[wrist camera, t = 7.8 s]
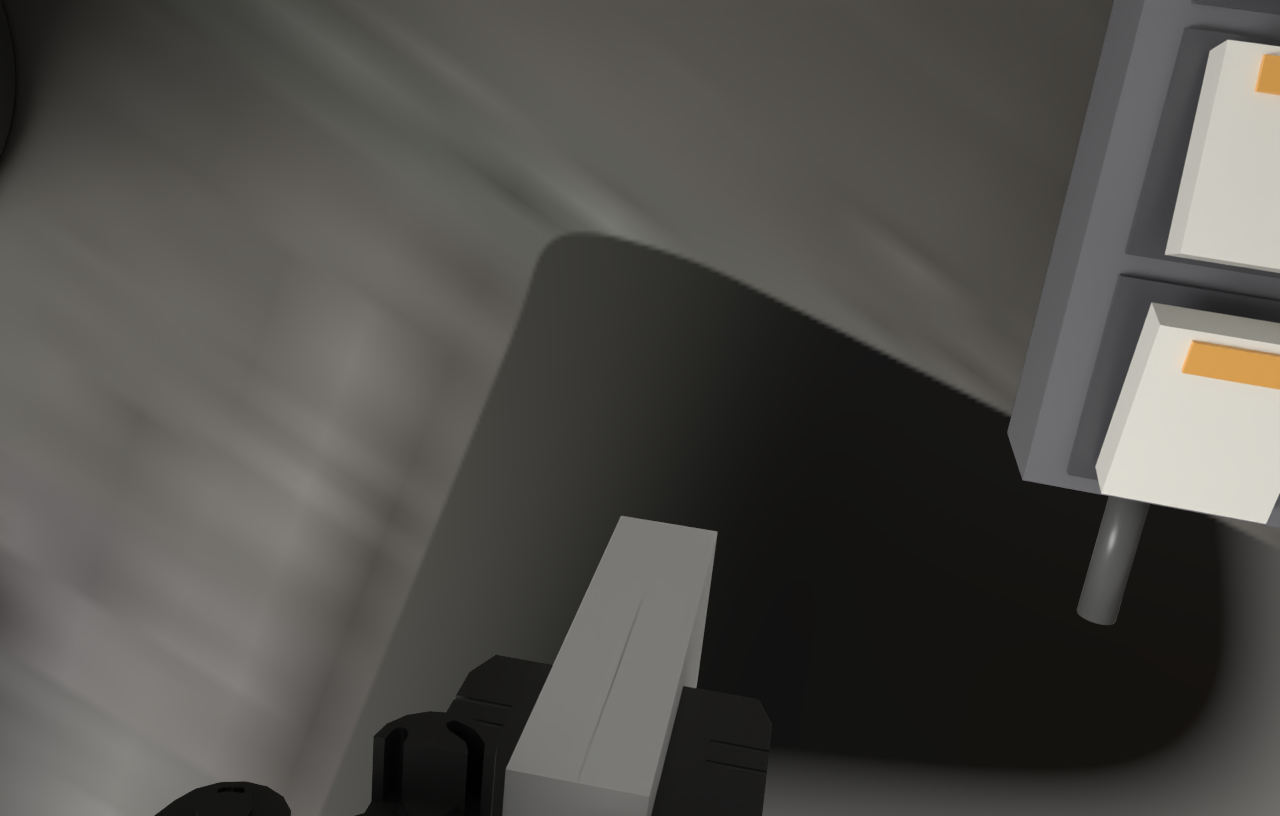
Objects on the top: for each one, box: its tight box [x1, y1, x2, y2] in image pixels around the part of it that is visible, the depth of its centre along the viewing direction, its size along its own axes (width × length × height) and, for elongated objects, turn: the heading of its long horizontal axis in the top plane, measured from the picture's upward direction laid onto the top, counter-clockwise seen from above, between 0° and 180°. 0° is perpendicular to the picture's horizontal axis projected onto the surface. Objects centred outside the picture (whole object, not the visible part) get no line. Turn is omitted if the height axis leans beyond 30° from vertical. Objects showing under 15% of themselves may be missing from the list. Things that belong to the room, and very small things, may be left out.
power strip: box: [1008, 0, 1280, 625], centre depth 39 cm, size 9×29×5 cm, turn 172°
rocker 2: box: [1095, 302, 1280, 524], centre depth 37 cm, size 5×6×2 cm
